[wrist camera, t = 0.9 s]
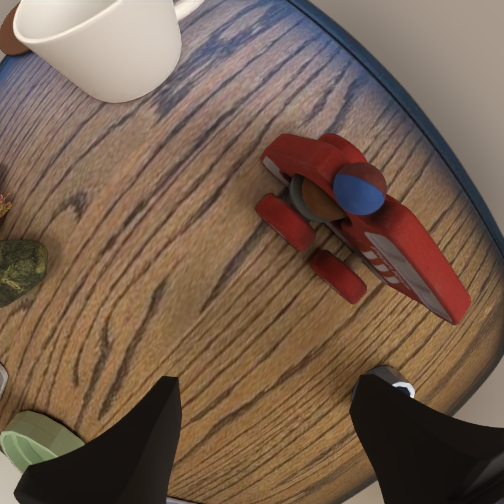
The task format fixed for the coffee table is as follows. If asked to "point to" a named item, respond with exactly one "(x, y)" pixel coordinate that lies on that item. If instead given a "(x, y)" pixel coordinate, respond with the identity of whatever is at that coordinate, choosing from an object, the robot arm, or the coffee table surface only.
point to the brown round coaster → (11, 36)
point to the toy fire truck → (357, 224)
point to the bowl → (36, 440)
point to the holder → (391, 379)
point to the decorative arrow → (4, 206)
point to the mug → (106, 42)
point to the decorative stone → (20, 268)
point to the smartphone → (2, 379)
